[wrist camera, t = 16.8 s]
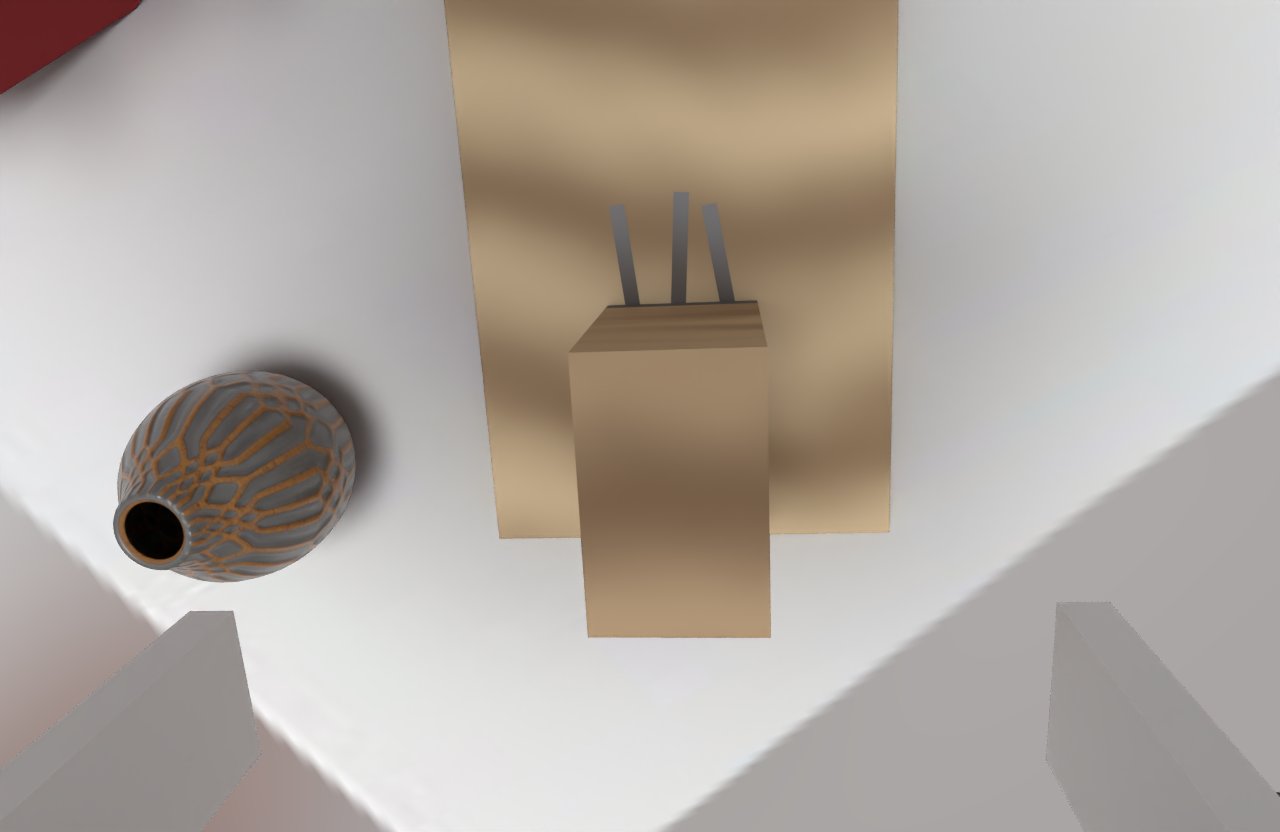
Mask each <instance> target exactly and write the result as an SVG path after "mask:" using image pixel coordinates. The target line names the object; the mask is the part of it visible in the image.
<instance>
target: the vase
mask: <svg viewBox="0 0 1280 832" xmlns="http://www.w3.org/2000/svg"><path fill="white" fill-rule="evenodd" d="M355 470H356V462H355V451H354V445H353V441H352V438H351V435H350V432H349V430H348V427H347V425H346V423H345V422H344V420H343V418H342V417H341V415H340V414H339V412H338V411H337V410H336V408H335V407H334V406H333V405H332V404H331V403H330V402H329V401H328V400H327V399H326V398H325V397H324V396H323V395H321V394H320V393H319V392H318V391H316V390H315V389H313V388H311V387H310V386H308V385H306V384H304V383H302V382H300V381H298V380H296V379H293V378H291V377H288V376H284V375H281V374H276V373H270V372H263V371H235V372H228V373H224V374H220V375H215V376H212V377H209V378H206V379H203V380H200V381H197V382H195V383H192V384H190V385H188V386H186V387H184V388H182V389H180V390H178V391H177V392H175V393H173V394H172V395H170V396H169V397H168V398H166V399H165V400H164V401H162V402H161V403H160V404H159V405H158V406H157V407H156V408H155V409H154V410H152V411H151V412H150V413H149V414H148V416H147V417H146V418H145V419H144V420H143V421H142V423H141V424H140V425H139V426H138V428H137V429H136V431H135V432H134V434H133V435H132V437H131V439H130V440H129V442H128V444H127V446H126V449H125V451H124V453H123V456H122V459H121V463H120V467H119V473H118V482H117V489H118V502H119V505H118V507H117V509H116V512H115V515H114V520H113V528H114V534H115V537H116V540H117V542H118V544H119V546H120V547H121V549H122V550H123V551H124V553H125V554H126V555H127V556H128V557H129V558H130V559H132V560H133V561H135V562H136V563H138V564H140V565H142V566H144V567H147V568H150V569H155V570H171V571H173V572H176V573H178V574H181V575H184V576H187V577H190V578H193V579H197V580H203V581H210V582H237V581H244V580H249V579H254V578H258V577H261V576H265V575H268V574H270V573H273V572H276V571H278V570H281V569H283V568H285V567H287V566H289V565H291V564H292V563H294V562H296V561H298V560H299V559H301V558H302V557H304V556H305V555H306V554H308V553H309V552H310V551H311V550H312V549H314V548H315V547H316V546H317V545H318V544H319V543H320V542H321V541H322V540H323V539H324V538H325V537H326V536H327V535H328V534H329V532H330V531H331V530H332V529H333V527H334V526H335V525H336V524H337V522H338V521H339V519H340V518H341V516H342V514H343V512H344V510H345V508H346V506H347V503H348V501H349V499H350V496H351V492H352V488H353V484H354V479H355Z"/></svg>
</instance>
